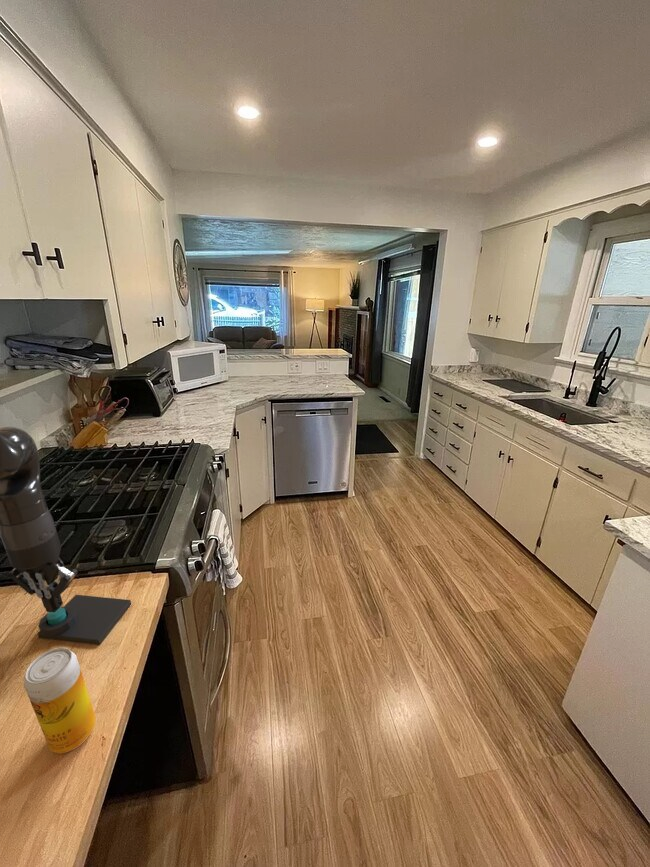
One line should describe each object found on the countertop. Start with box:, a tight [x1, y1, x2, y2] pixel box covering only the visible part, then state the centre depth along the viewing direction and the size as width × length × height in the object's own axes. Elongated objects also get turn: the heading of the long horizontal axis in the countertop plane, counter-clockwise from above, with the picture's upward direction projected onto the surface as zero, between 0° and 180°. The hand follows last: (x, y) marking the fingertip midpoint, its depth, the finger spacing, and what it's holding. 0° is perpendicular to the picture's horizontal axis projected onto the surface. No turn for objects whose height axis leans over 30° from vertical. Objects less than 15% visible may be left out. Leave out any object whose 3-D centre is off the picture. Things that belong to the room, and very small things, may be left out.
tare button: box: [46, 606, 67, 625], centre depth 72 cm, size 3×3×2 cm
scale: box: [37, 594, 132, 646], centre depth 74 cm, size 13×10×3 cm
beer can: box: [23, 647, 97, 754], centre depth 53 cm, size 6×6×15 cm
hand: (54, 608), depth 71 cm, fingers closed
